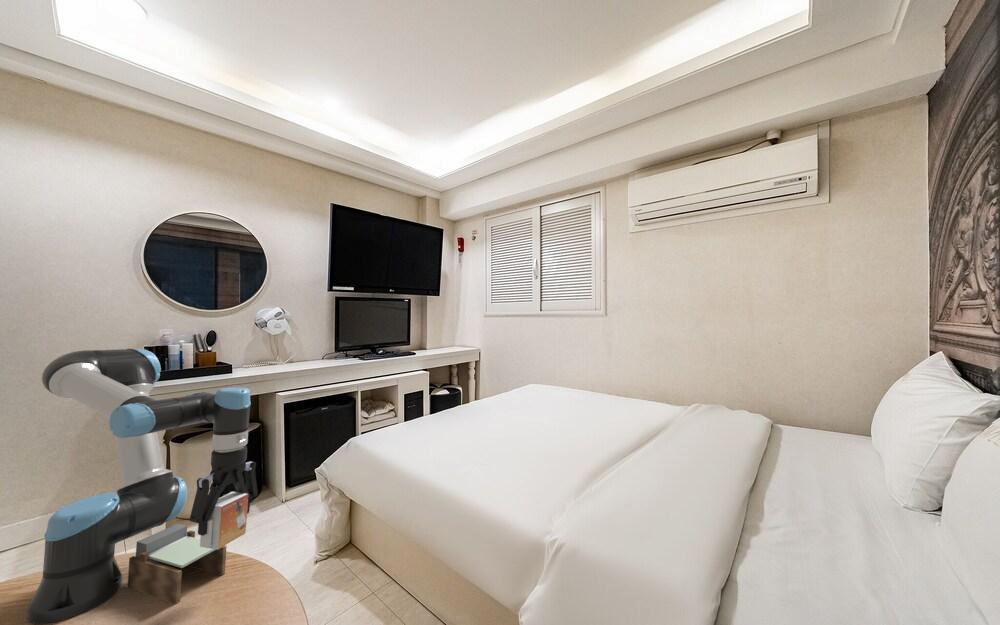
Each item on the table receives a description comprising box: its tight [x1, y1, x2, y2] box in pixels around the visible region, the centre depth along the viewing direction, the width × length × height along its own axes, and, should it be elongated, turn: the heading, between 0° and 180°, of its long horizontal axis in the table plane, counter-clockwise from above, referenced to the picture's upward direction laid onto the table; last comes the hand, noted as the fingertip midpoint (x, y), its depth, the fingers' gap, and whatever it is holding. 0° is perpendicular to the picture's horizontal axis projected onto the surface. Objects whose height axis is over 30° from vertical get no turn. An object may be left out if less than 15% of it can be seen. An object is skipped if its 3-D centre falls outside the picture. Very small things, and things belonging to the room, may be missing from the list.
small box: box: [200, 491, 248, 550], centre depth 93 cm, size 8×6×10 cm
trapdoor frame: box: [126, 530, 227, 604], centre depth 96 cm, size 19×12×9 cm, turn 73°
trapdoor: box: [135, 523, 216, 569], centre depth 96 cm, size 18×9×6 cm, turn 73°
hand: (224, 536), depth 93 cm, fingers closed on small box, 8 cm apart
